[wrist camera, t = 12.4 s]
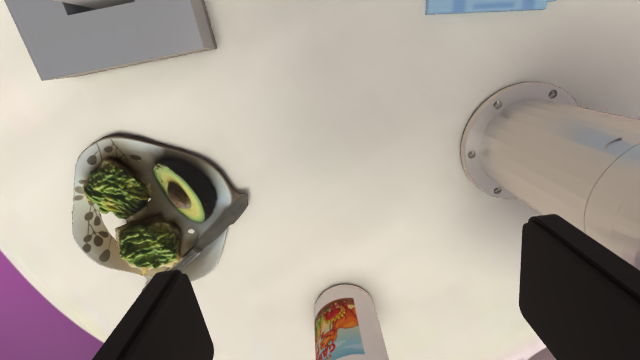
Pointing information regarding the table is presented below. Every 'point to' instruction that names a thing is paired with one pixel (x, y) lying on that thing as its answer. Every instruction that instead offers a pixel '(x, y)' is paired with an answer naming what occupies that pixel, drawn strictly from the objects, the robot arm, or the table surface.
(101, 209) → the salad plate
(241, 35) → the table surface
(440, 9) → the blue striped cloth
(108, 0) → the block
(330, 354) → the milk bottle
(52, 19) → the block
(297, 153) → the table surface
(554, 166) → the robot arm
